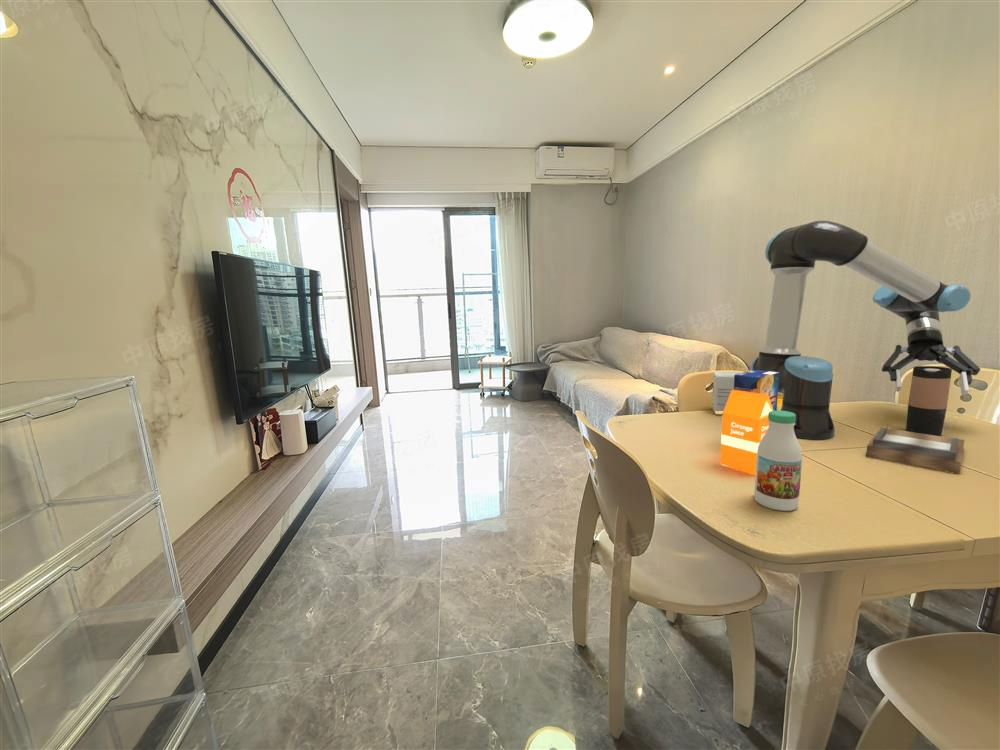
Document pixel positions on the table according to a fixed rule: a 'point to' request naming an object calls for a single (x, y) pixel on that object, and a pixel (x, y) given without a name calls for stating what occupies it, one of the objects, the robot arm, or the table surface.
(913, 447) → the dock
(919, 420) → the travel mug
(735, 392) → the orange juice
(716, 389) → the supplement box
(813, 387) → the robot arm
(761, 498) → the milk bottle
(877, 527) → the table surface
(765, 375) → the beverage box
